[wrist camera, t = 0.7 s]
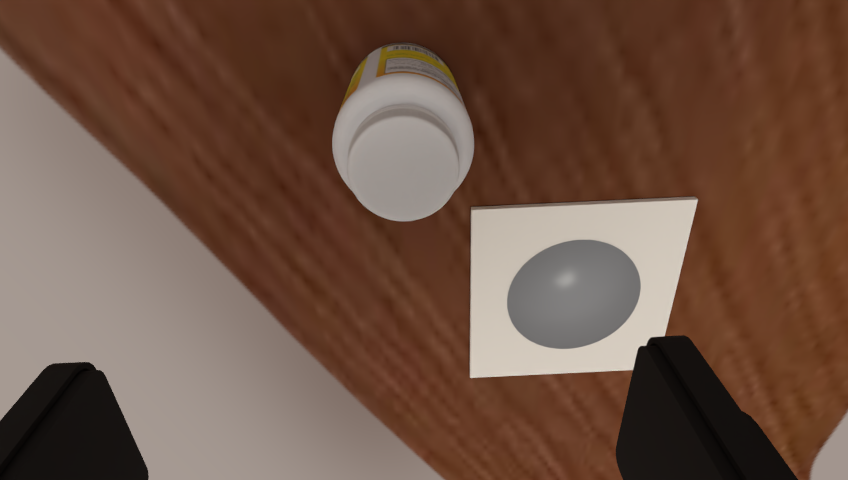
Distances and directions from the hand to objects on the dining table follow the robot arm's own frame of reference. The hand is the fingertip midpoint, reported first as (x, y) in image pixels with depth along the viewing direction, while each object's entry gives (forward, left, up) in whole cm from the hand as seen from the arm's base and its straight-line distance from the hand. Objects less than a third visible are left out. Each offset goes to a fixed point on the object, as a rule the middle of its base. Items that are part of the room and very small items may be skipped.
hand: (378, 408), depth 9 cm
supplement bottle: (0, 0, -21) cm, 21 cm away
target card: (-10, +13, -20) cm, 26 cm away
